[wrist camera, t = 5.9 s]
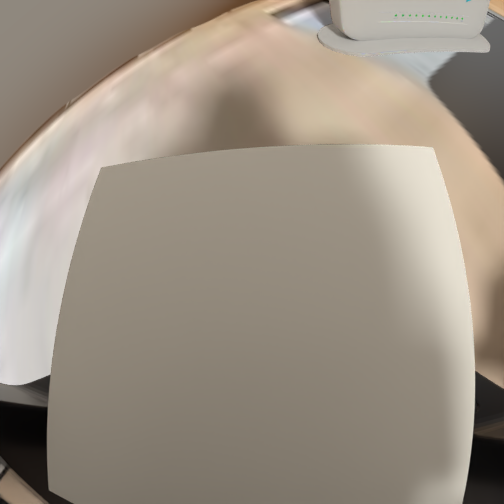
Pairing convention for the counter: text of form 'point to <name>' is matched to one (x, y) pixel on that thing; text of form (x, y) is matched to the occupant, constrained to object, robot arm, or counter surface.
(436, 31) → the wireless router
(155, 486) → the cream rectangular prism
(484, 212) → the counter surface
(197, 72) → the counter surface
